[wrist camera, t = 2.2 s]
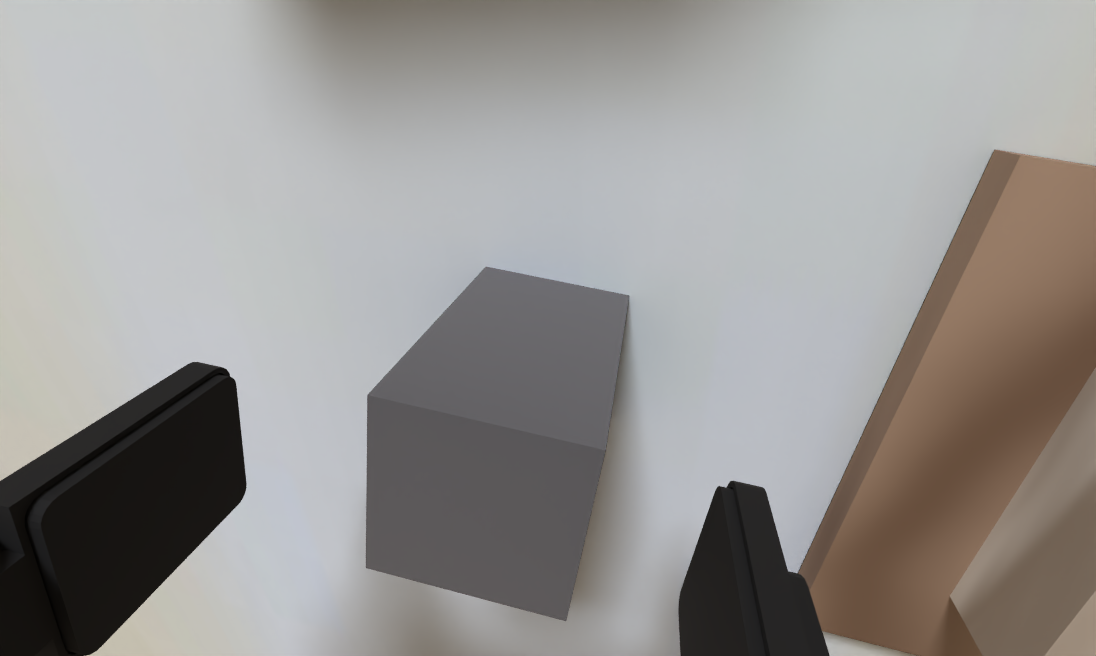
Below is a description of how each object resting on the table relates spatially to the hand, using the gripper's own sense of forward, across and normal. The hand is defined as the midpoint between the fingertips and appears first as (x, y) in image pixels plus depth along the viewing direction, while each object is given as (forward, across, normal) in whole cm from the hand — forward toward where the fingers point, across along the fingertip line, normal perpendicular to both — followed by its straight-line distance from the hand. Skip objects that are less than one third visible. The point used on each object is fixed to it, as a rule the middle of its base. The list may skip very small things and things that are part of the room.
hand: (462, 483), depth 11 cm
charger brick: (+6, 0, 0) cm, 6 cm away
